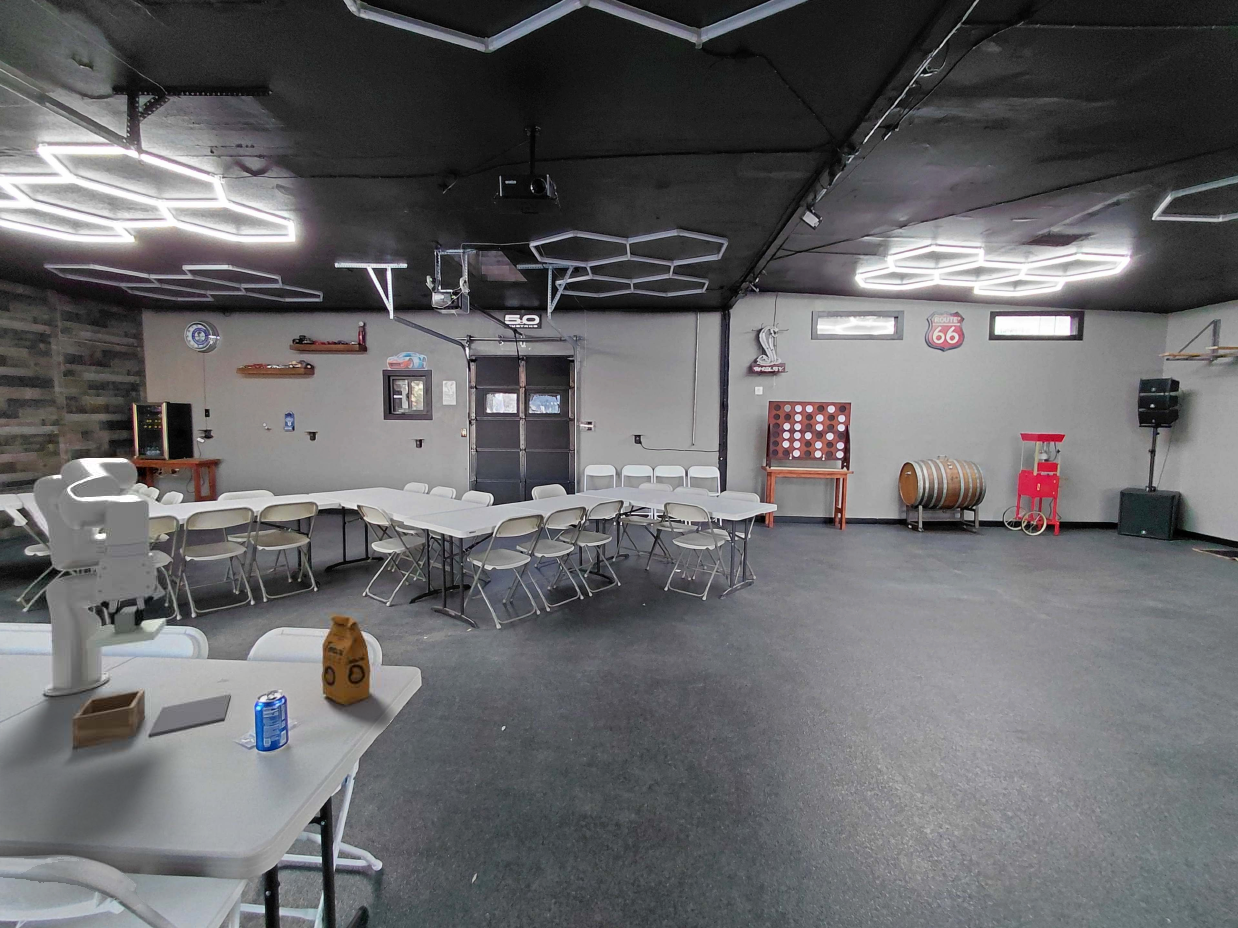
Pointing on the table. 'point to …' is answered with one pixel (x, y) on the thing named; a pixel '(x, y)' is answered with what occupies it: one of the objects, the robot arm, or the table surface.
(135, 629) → the lid
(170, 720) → the mat
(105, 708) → the crate
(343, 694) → the coffee package
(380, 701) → the table surface
